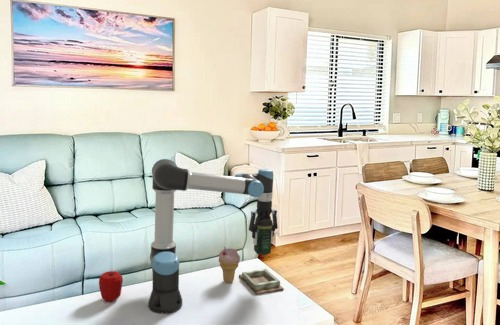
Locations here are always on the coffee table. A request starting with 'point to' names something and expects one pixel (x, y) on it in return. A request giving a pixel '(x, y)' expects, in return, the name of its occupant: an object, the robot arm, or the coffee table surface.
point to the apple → (110, 285)
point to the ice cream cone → (229, 263)
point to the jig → (261, 281)
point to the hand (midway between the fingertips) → (262, 243)
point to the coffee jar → (263, 236)
